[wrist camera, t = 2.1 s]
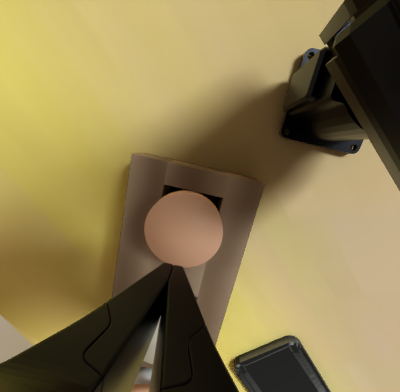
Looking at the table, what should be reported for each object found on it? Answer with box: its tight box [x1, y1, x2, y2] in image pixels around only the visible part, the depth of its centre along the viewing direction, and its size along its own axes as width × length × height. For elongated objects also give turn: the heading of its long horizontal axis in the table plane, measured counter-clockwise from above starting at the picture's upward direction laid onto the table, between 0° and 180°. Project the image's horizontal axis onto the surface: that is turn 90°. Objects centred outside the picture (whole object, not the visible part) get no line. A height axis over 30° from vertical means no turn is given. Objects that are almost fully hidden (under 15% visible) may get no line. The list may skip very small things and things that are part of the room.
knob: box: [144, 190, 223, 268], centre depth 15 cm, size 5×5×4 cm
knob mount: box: [112, 153, 265, 369], centre depth 19 cm, size 10×26×3 cm, turn 167°
